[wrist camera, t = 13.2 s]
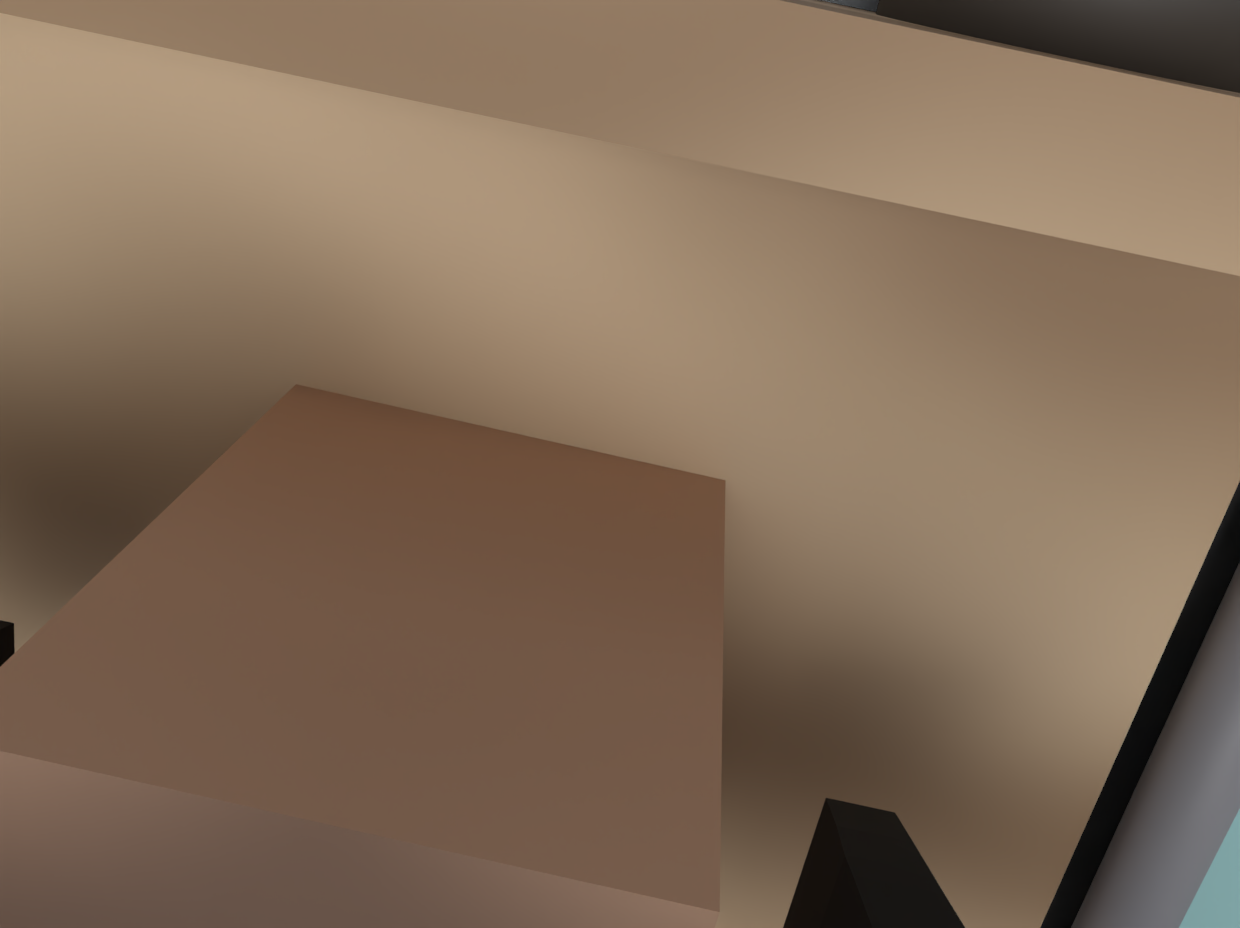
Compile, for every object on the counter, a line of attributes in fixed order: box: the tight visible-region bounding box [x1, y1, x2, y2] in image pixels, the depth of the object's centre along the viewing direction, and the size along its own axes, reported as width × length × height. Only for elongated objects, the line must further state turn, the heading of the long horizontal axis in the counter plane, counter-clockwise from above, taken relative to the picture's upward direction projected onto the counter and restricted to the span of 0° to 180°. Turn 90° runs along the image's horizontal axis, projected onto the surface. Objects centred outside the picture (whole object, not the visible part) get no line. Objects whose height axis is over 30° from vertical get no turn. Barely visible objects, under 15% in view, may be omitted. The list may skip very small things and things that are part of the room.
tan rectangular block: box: [0, 384, 725, 928], centre depth 10 cm, size 4×4×6 cm
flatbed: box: [0, 0, 1240, 928], centre depth 11 cm, size 16×20×7 cm
